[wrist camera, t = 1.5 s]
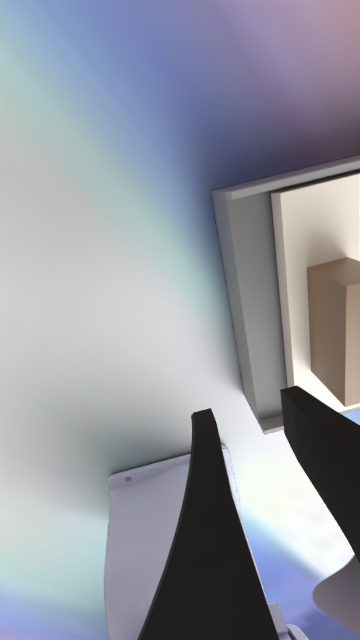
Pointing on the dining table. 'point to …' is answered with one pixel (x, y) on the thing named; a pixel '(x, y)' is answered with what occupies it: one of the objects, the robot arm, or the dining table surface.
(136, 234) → the dining table surface
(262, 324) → the box
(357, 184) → the cover
